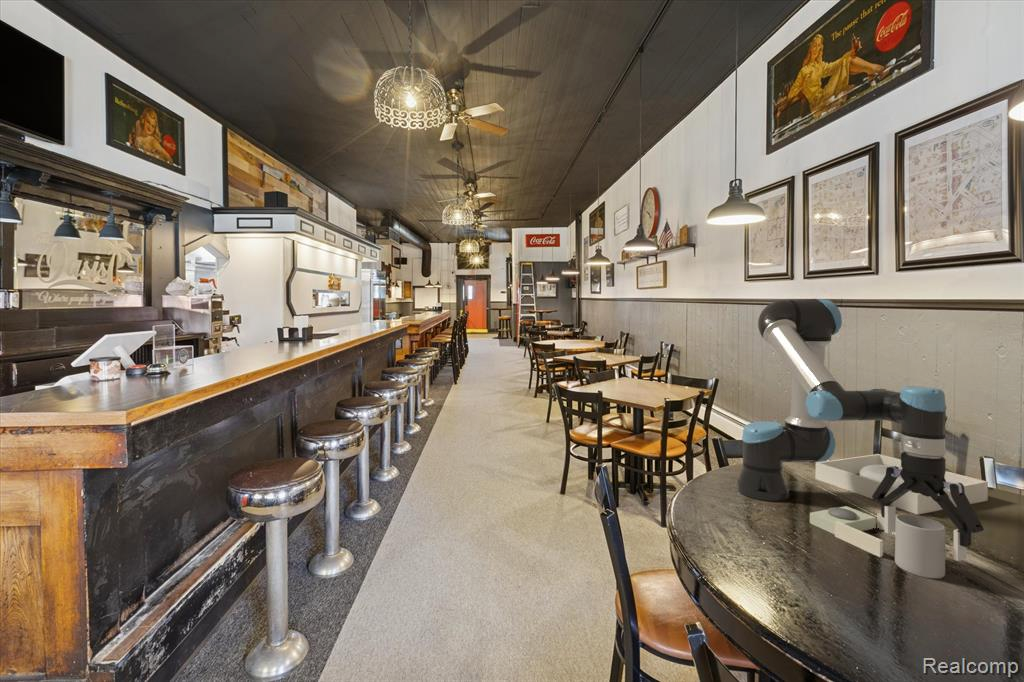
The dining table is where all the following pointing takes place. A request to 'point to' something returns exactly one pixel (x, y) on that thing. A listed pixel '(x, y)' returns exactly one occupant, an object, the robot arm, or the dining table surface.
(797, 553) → the dining table surface
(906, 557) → the mug
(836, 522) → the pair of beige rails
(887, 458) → the shallow rectangular tray
